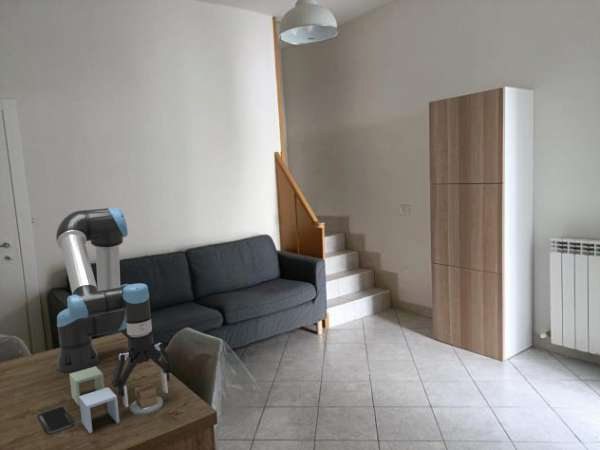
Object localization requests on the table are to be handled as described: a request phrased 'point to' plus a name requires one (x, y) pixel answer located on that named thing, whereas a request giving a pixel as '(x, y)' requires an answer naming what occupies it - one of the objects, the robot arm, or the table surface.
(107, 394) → the blue cover
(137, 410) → the dish
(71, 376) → the sage cover
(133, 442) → the table surface
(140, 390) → the walnut block
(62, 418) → the phone
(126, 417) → the table surface
